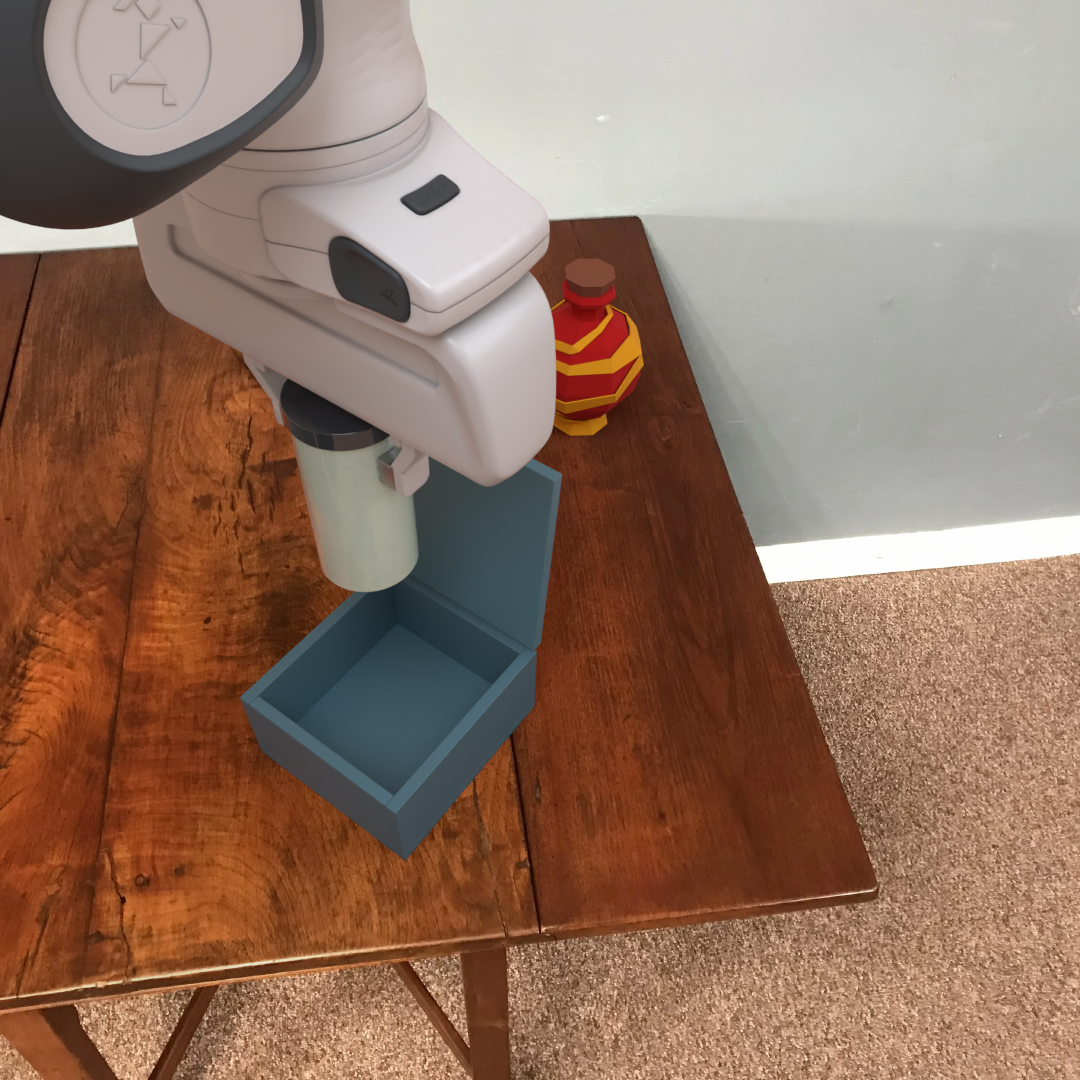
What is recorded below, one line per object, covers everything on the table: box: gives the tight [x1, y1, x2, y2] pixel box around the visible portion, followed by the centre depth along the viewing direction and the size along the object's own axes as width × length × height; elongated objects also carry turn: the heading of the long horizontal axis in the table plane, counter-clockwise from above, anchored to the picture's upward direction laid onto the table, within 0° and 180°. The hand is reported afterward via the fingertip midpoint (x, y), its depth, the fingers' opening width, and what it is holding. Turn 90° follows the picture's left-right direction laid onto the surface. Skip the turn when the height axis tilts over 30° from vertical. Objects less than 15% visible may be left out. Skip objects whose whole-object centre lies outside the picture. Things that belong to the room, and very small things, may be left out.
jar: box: [280, 378, 419, 592], centre depth 45 cm, size 6×6×11 cm
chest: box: [239, 574, 538, 861], centre depth 61 cm, size 14×13×7 cm
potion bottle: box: [550, 257, 645, 437], centre depth 79 cm, size 10×10×15 cm
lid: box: [409, 456, 563, 651], centre depth 57 cm, size 14×13×1 cm
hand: (353, 453), depth 44 cm, fingers closed on jar, 5 cm apart
